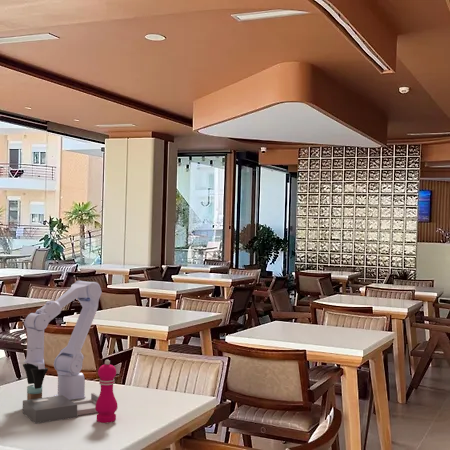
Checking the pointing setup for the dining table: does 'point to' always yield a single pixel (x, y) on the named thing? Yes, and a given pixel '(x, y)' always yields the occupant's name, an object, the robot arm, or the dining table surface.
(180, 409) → the dining table surface
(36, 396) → the walnut block
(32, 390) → the disc
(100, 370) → the pepper mill
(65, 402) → the box
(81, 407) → the tray
